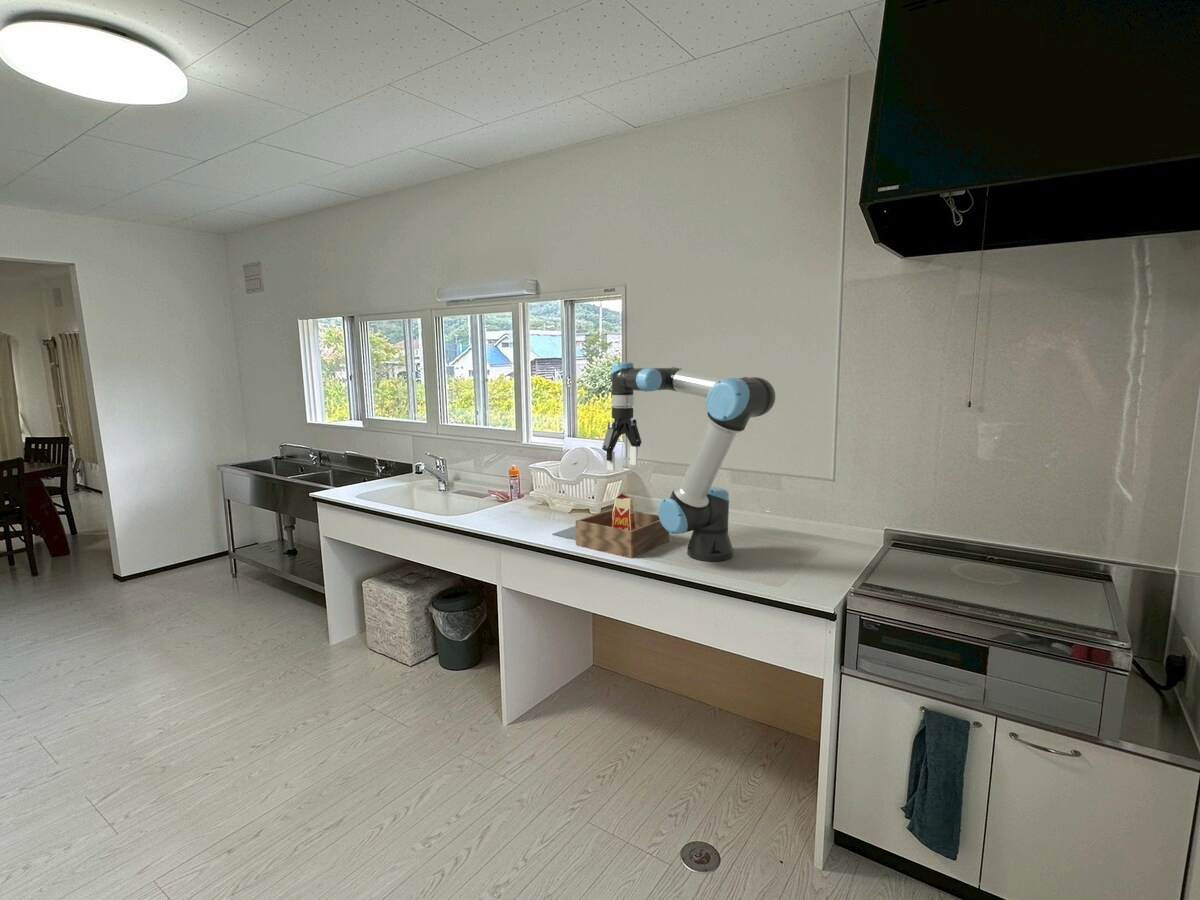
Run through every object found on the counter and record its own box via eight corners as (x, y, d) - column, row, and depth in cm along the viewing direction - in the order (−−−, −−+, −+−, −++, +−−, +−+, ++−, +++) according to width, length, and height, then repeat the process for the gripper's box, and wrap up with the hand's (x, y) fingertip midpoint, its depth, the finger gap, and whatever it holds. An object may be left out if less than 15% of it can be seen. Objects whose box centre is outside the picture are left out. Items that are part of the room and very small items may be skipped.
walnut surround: (669, 541, 222) (669, 517, 220) (631, 558, 203) (631, 531, 202) (616, 530, 236) (616, 507, 235) (575, 545, 217) (575, 520, 216)
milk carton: (633, 547, 214) (634, 492, 211) (608, 546, 216) (607, 491, 213) (637, 540, 223) (637, 486, 220) (612, 539, 225) (612, 485, 222)
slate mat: (604, 532, 233) (604, 531, 233) (580, 541, 223) (580, 540, 223) (576, 526, 242) (576, 525, 242) (552, 534, 231) (552, 533, 231)
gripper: (634, 404, 225) (633, 461, 228) (591, 408, 205) (592, 471, 208) (651, 405, 220) (650, 463, 223) (609, 409, 201) (609, 473, 204)
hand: (622, 467), depth 216 cm, fingers open, 13 cm apart
